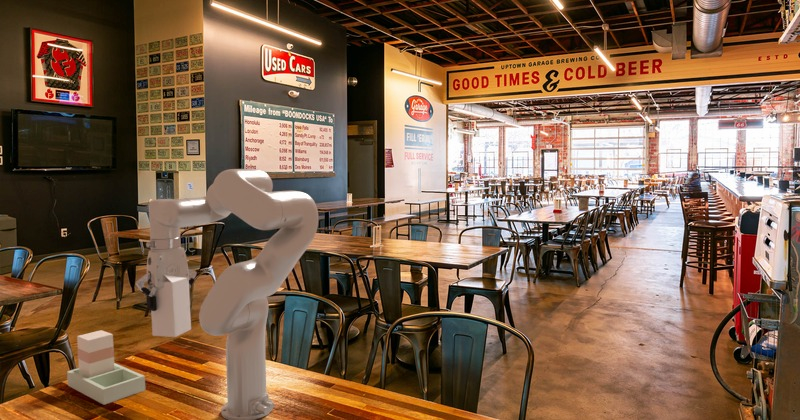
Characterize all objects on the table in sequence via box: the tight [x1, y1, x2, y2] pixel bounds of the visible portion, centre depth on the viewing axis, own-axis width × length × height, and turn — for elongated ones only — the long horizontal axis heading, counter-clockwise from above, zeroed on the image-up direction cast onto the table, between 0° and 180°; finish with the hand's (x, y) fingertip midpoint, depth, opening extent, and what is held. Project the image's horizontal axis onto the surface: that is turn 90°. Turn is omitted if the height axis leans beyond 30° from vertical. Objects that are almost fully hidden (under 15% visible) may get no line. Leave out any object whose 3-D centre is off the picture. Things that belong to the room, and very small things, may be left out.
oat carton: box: [76, 329, 115, 379], centre depth 151 cm, size 7×7×14 cm
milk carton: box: [150, 274, 192, 338], centre depth 147 cm, size 7×7×19 cm
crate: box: [66, 362, 146, 406], centre depth 148 cm, size 21×11×5 cm, turn 54°
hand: (168, 306), depth 147 cm, fingers closed on milk carton, 9 cm apart
